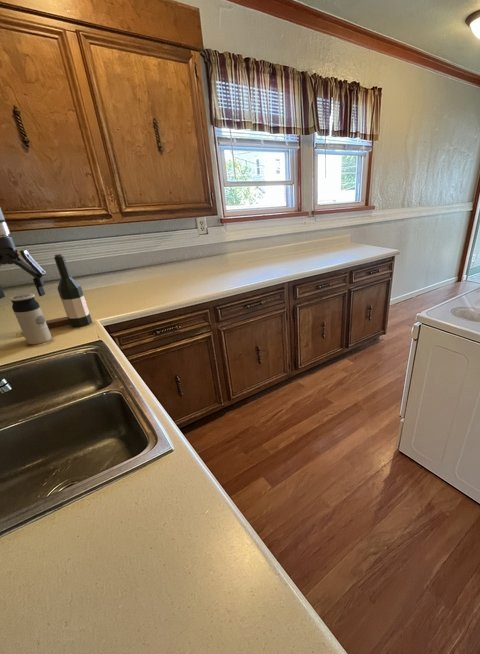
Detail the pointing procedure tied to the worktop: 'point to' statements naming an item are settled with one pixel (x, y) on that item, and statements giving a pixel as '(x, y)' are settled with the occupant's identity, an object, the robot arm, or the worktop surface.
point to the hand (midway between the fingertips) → (22, 296)
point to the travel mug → (30, 318)
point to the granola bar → (57, 322)
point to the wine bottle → (72, 296)
